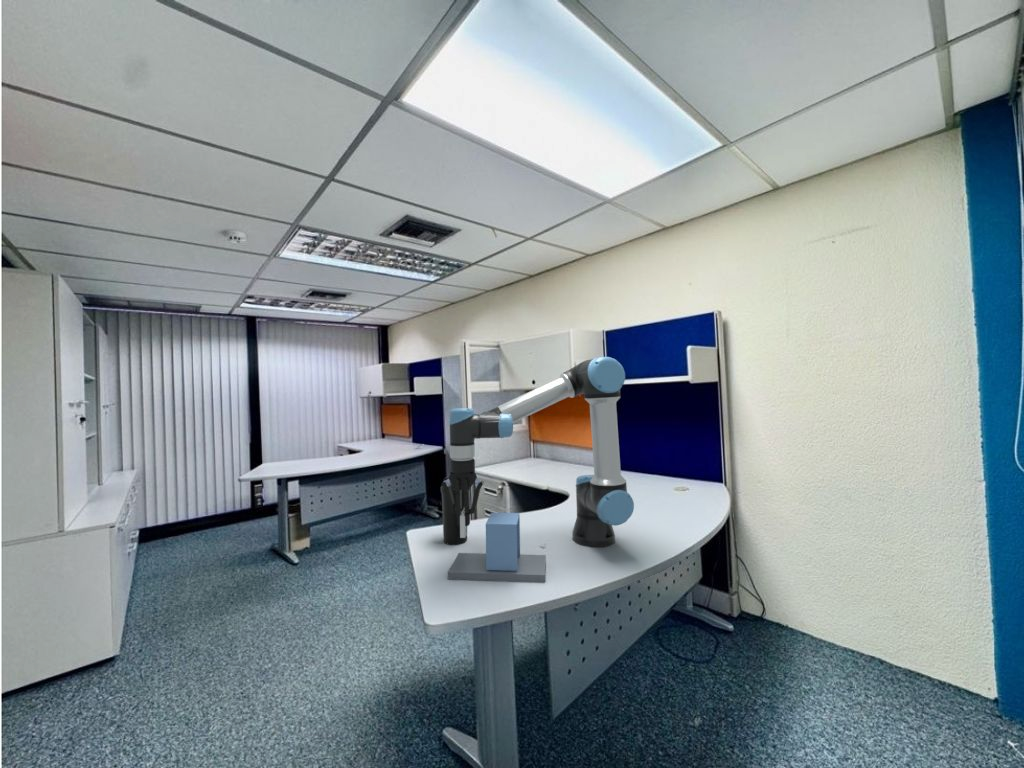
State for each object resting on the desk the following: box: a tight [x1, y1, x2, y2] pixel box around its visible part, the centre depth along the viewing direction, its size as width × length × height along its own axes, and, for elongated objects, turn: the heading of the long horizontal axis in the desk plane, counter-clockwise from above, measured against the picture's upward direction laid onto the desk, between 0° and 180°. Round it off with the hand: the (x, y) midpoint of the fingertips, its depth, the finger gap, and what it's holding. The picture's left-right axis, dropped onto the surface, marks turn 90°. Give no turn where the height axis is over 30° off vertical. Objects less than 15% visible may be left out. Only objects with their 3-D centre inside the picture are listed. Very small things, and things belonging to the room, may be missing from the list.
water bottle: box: [440, 475, 468, 546], centre depth 145 cm, size 10×10×23 cm
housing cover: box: [485, 512, 521, 571], centre depth 120 cm, size 9×11×13 cm
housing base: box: [447, 552, 547, 583], centre depth 120 cm, size 28×14×4 cm, turn 84°
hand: (463, 536), depth 121 cm, fingers closed
